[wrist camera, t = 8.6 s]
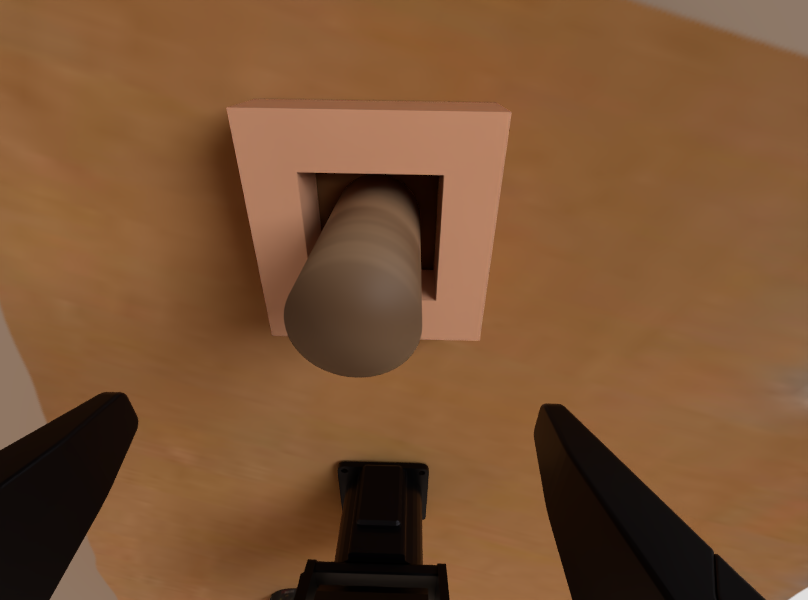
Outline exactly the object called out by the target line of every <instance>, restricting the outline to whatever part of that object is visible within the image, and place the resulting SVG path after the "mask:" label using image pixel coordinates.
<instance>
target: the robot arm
mask: <svg viewBox="0 0 808 600" xmlns="http://www.w3.org/2000/svg"><path fill="white" fill-rule="evenodd" d="M137 428H138V417H137V415H136V413H135V411H134V409H133V407H132V405H131V403H130V401H129V399H128V397H127V395H126V394H124V393H121V392H104V393H101V394H99V395H97V396H95V397H93V398H92V399H90V400H88V401H86V402H85V403H83V404H81V405H79V406H78V407H76V408H74V409H72V410H70V411H69V412H67V413H65V414H63V415H62V416H60V417H58V418H56V419H55V420H53V421H51V422H49V423H48V424H46V425H44V426H42V427H41V428H39V429H37V430H35V431H34V432H32V433H30V434H28V435H26V436H25V437H23V438H21V439H20V440H18V441H16V442H14V443H12V444H11V445H9V446H7V447H5V448H4V449H2V450H0V600H50V598H51V596H52V594H53V593H54V591H55V589H56V587H57V585H58V584H59V582H60V580H61V578H62V577H63V575H64V573H65V571H66V569H67V568H68V566H69V564H70V562H71V560H72V559H73V557H74V555H75V553H76V552H77V550H78V548H79V546H80V544H81V543H82V541H83V539H84V537H85V536H86V534H87V532H88V530H89V528H90V527H91V525H92V523H93V521H94V520H95V518H96V516H97V514H98V512H99V511H100V509H101V507H102V505H103V503H104V501H105V499H106V498H107V495H108V493H109V491H110V489H111V487H112V485H113V483H114V480H115V478H116V476H117V474H118V471H119V469H120V467H121V465H122V462H123V460H124V458H125V456H126V453H127V451H128V449H129V446H130V444H131V442H132V440H133V437H134V435H135V433H136V431H137ZM534 441H535V447H536V452H537V458H538V464H539V469H540V475H541V481H542V487H543V492H544V498H545V503H546V508H547V513H548V516H549V520H550V524H551V527H552V531H553V534H554V538H555V541H556V545H557V548H558V552H559V555H560V559H561V562H562V565H563V569H564V572H565V576H566V579H567V583H568V586H569V590H570V593H571V597H572V600H766V599H765V598H763V597H762V596H761V595H760V594H759V593H758V592H757V591H756V590H755V589H754V588H753V587H752V586H751V585H750V584H748V583H747V582H746V581H745V580H744V579H743V578H742V577H741V576H740V575H739V574H738V573H737V572H736V571H735V570H734V569H733V568H732V567H731V566H730V565H728V564H727V563H726V562H725V561H724V560H723V559H722V558H721V557H720V556H719V555H718V554H714V551H713V549H712V548H711V547H710V546H709V545H708V544H706V543H705V542H704V541H703V540H702V539H701V538H700V537H699V536H698V535H697V534H696V533H695V532H694V531H693V530H692V529H691V528H690V527H689V526H688V525H687V524H686V523H685V522H684V521H683V520H682V519H681V518H680V517H679V516H677V515H676V514H675V513H674V512H673V511H672V510H671V509H670V508H669V507H668V506H667V505H666V504H665V503H664V502H663V501H662V500H661V499H660V498H659V497H658V496H657V495H656V494H655V493H654V492H653V491H652V490H651V489H650V488H648V487H647V486H646V485H645V484H644V483H643V482H642V481H641V480H640V479H639V478H638V477H637V476H636V475H635V474H634V473H633V472H632V471H631V470H630V469H629V468H628V467H627V466H626V465H625V464H624V463H623V462H622V461H620V460H619V459H618V458H617V457H616V456H615V455H614V454H613V453H612V452H611V451H610V450H609V449H608V448H607V447H606V446H605V445H604V444H603V443H602V442H601V441H600V440H599V439H598V438H597V437H596V436H595V435H594V434H593V433H591V432H590V431H589V430H588V429H587V428H586V427H585V426H584V425H583V424H582V423H581V422H580V421H579V420H578V419H577V418H576V417H575V416H574V415H573V414H572V413H571V412H570V411H569V410H568V409H567V408H566V407H564V406H563V405H561V404H543V405H542V406H541V407H540V411H539V414H538V418H537V422H536V425H535V429H534ZM428 476H429V468H428V466H427V465H425V464H415V463H380V462H341V463H339V466H338V478H339V487H340V495H341V503H342V517H341V523H340V530H339V536H338V542H337V549H336V555H335V561H334V562H321V561H317V560H311V559H308V561H307V564H306V567H305V571H304V572H303V573H302V574H301V575H300V579H299V584H298V587H297V590H296V594H295V597H294V600H449V590H448V580H447V570H446V564H437V565H423V550H422V520H423V519H425V517H426V504H427V490H428Z"/></svg>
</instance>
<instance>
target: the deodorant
mask: <svg viewBox="0 0 808 600" xmlns="http://www.w3.org/2000/svg"><path fill="white" fill-rule="evenodd" d="M296 590H297V589H284V590H280V591H277V592H275V593H274V594H272V596H271V597H270V600H294V597H295V594H296Z"/></svg>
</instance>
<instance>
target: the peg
mask: <svg viewBox="0 0 808 600" xmlns="http://www.w3.org/2000/svg"><path fill="white" fill-rule="evenodd" d="M284 324H285V328H286V332H287V334H288V337H289V339H290V341H291V342H292V344H293V345H294V347H295V348H296V349H297V351H298V352H299V353H300V354H301V355H302V356H303V357H304V358H306V359H307V360H308V361H309V362H311V363H312V364H314V365H315V366H317V367H319V368H321V369H323V370H325V371H328V372H330V373H333V374H337V375H341V376H347V377H371V376H376V375H381V374H384V373H386V372H389V371H391V370H393V369H395V368H397V367H398V366H400V365H401V364H403V363H404V362H405V361H406V360H407V359H408V358H409V357H410V356H411V355H412V354H413V352H414V351H415V349H416V348H417V346H418V344H419V341H420V338H421V334H422V289H421V241H420V210H419V206H418V202H417V200H416V198H415V196H414V194H413V193H412V191H411V190H410V189H409V188H408V187H407V186H406V185H405V184H404V183H402V182H401V181H399V180H397V179H395V178H393V177H390V176H387V175H381V174H371V175H366V176H363V177H360V178H358V179H356V180H354V181H353V182H352V183H350V184H349V185H348V186H347V187H346V188H345V190H344V191H343V192H342V194H341V196H340V198H339V200H338V201H337V203H336V205H335V207H334V209H333V211H332V213H331V215H330V217H329V219H328V221H327V223H326V224H325V226H324V228H323V230H322V232H321V234H320V236H319V238H318V240H317V242H316V244H315V245H314V247H313V249H312V251H311V253H310V255H309V257H308V259H307V261H306V263H305V265H304V267H303V268H302V270H301V272H300V274H299V276H298V278H297V280H296V282H295V284H294V286H293V288H292V290H291V291H290V293H289V295H288V298H287V300H286V303H285V308H284Z"/></svg>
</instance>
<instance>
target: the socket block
mask: <svg viewBox="0 0 808 600" xmlns="http://www.w3.org/2000/svg"><path fill="white" fill-rule="evenodd" d="M226 108H227V113H228V118H229V123H230V128H231V133H232V138H233V143H234V148H235V153H236V158H237V163H238V168H239V173H240V178H241V183H242V188H243V193H244V198H245V203H246V208H247V213H248V218H249V223H250V228H251V233H252V238H253V243H254V248H255V253H256V258H257V263H258V268H259V273H260V278H261V283H262V288H263V293H264V298H265V303H266V308H267V313H268V318H269V323H270V328H271V333H272V336H288V334H287V332H286V328H285V324H284V308H285V303H286V300H287V298H288V295H289V293H290V291H291V290H292V288H293V286H294V284H295V282H296V280H297V278H298V276H299V274H300V272H301V270H302V268H303V267H304V265H305V263H306V261H307V259H308V257H309V255H310V253H311V251H312V249H313V247H314V245H315V244H316V242H317V240H318V238H319V236H320V234H321V222H320V212H319V202H318V193H317V183H316V173H362V174H415V175H439V184H438V202H437V219H436V236H435V254H434V270H421V289H422V334H421V338H420V339H429V340H470V341H480V334H481V327H482V320H483V312H484V305H485V298H486V291H487V284H488V277H489V270H490V263H491V255H492V248H493V241H494V234H495V227H496V220H497V213H498V206H499V198H500V191H501V184H502V177H503V170H504V163H505V156H506V149H507V141H508V134H509V127H510V120H511V113H512V112H510V111H509V110H507V109H506V108H504V107H503V106H501V105H499V104H498V103H480V102H419V101H358V100H297V99H253V100H250V101H246V102H243V103H240V104H236V105H233V106H230V107H226Z"/></svg>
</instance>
